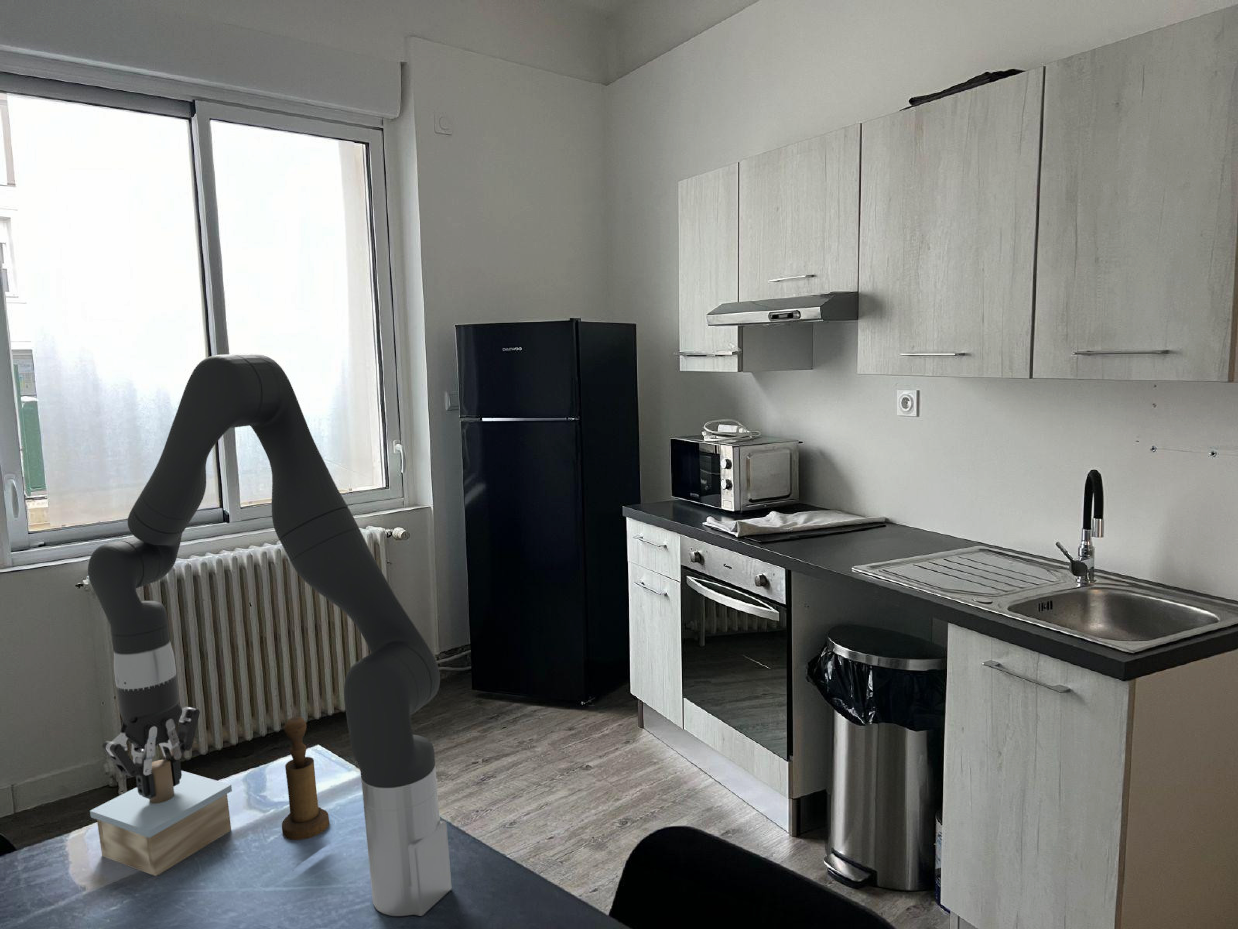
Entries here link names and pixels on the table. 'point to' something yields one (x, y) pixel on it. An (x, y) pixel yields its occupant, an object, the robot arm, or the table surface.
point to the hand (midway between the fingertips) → (161, 790)
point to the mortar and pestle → (301, 789)
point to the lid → (160, 801)
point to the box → (166, 839)
